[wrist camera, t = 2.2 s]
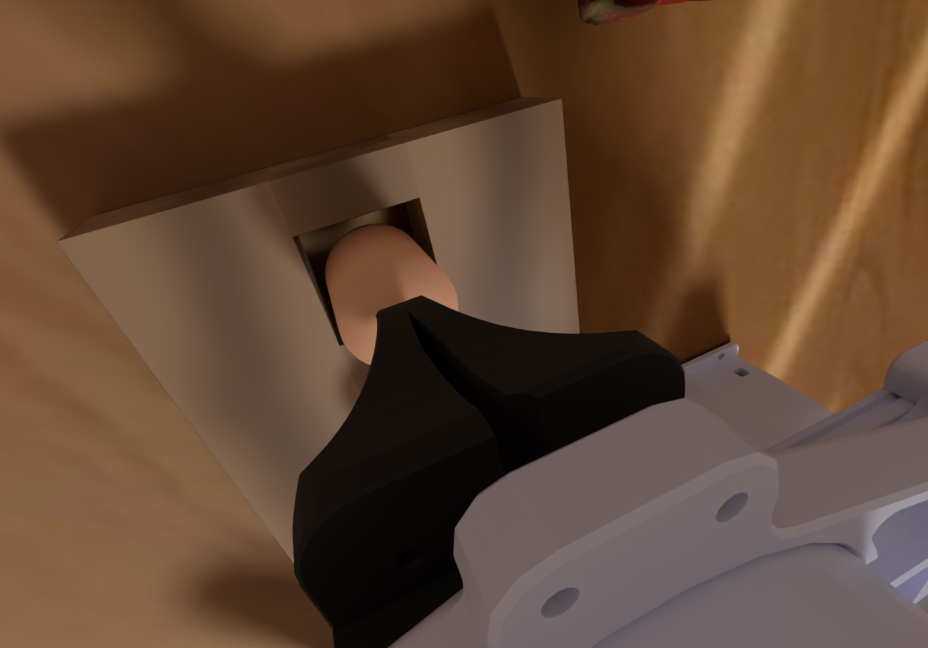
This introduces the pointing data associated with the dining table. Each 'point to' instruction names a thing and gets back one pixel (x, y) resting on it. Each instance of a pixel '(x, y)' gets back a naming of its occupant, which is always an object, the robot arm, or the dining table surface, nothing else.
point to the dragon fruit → (617, 9)
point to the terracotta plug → (379, 281)
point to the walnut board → (296, 287)
